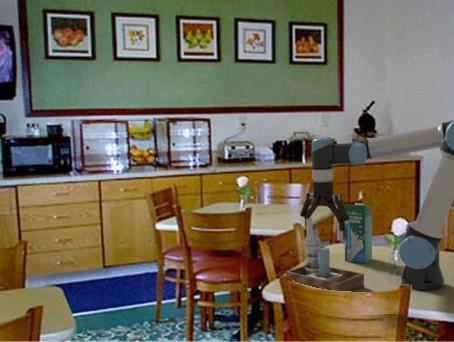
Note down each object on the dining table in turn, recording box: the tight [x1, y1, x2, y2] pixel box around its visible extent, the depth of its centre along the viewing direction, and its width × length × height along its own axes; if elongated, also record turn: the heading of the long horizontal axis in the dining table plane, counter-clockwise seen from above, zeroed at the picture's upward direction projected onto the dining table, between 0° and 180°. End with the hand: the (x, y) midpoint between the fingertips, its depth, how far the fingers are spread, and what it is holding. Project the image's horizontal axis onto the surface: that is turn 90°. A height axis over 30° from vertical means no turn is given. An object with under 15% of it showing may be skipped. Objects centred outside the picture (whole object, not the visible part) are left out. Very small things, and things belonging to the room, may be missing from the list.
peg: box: [319, 247, 331, 278], centre depth 217 cm, size 4×4×13 cm
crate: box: [285, 264, 365, 292], centre depth 217 cm, size 24×16×5 cm, turn 45°
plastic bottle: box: [303, 227, 322, 275], centre depth 225 cm, size 6×7×20 cm
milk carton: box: [343, 202, 373, 264], centre depth 251 cm, size 9×9×25 cm
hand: (324, 237), depth 215 cm, fingers open, 13 cm apart
